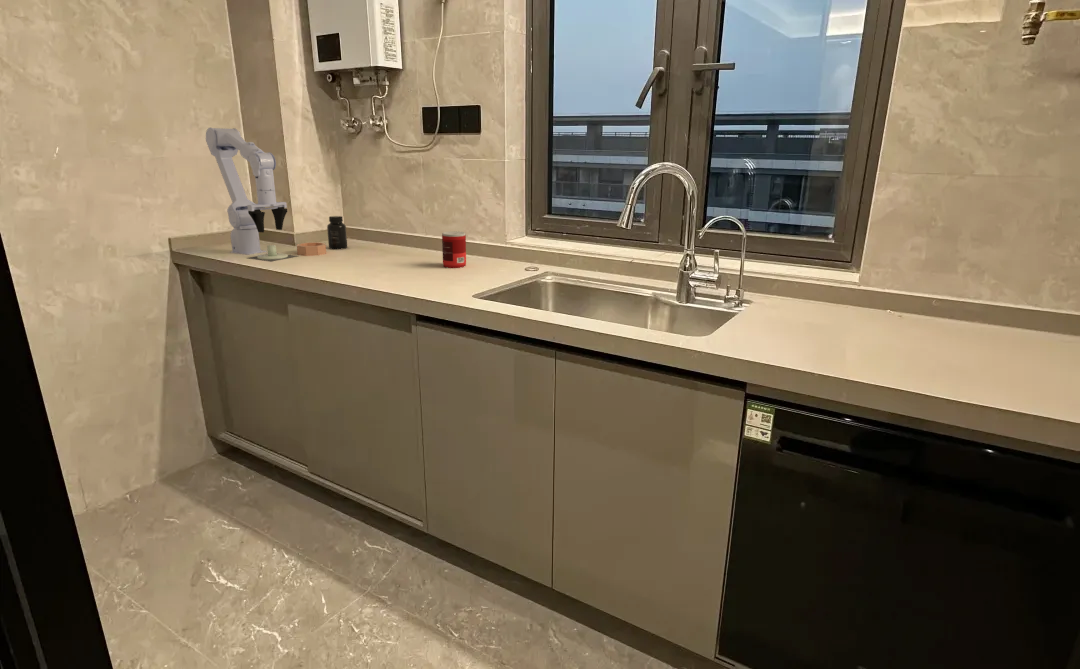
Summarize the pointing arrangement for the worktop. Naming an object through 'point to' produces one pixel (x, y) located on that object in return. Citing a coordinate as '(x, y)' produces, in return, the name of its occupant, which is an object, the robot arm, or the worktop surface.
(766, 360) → the worktop surface
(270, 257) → the lid
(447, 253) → the canned food
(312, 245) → the bowl
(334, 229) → the supplement bottle
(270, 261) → the mat
